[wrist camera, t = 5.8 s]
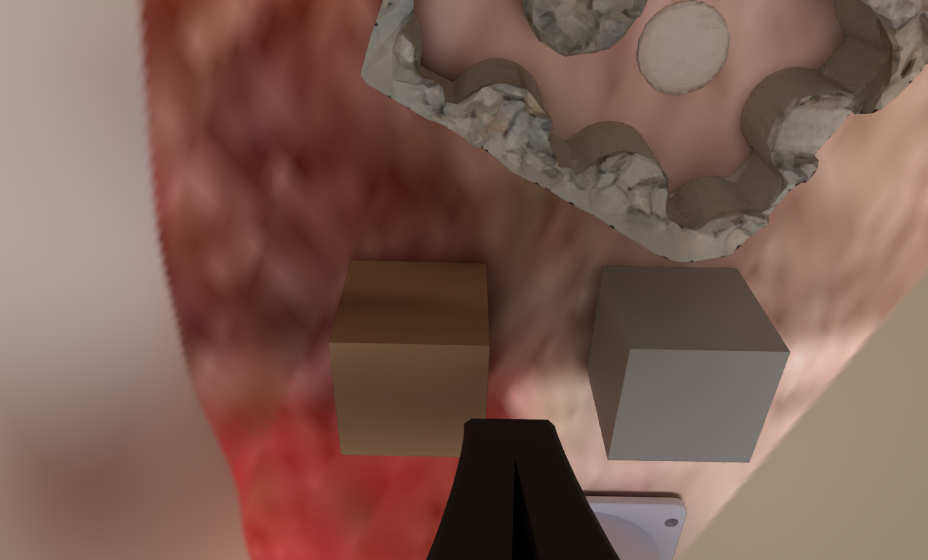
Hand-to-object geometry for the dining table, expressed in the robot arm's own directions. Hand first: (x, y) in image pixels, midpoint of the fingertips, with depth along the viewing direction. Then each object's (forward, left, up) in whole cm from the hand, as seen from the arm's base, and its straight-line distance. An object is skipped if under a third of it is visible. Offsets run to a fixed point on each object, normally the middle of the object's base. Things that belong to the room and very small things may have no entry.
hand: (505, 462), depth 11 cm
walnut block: (-4, +2, -10) cm, 10 cm away
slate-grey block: (-4, -6, -10) cm, 12 cm away
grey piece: (+5, -3, -10) cm, 11 cm away
